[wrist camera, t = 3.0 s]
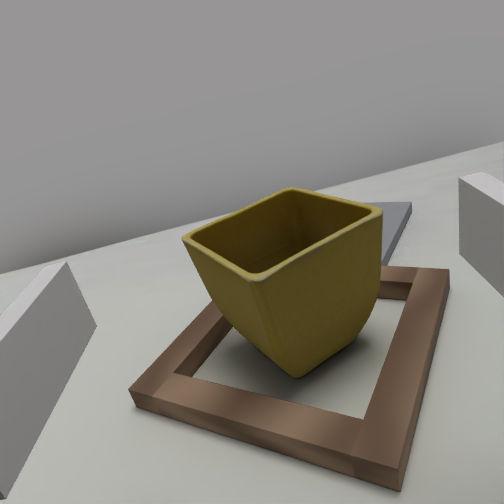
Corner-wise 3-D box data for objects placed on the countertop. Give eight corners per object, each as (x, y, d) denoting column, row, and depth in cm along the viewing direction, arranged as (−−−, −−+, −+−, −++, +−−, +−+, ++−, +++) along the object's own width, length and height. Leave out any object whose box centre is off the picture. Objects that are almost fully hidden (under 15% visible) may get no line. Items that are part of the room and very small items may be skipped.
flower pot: (289, 419, 23) (252, 280, 19) (216, 347, 30) (177, 234, 26) (400, 340, 27) (387, 207, 23) (311, 292, 34) (289, 185, 30)
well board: (449, 287, 30) (449, 269, 29) (400, 491, 18) (397, 468, 18) (255, 272, 38) (251, 258, 38) (136, 406, 27) (128, 389, 26)
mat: (412, 211, 42) (411, 201, 42) (381, 275, 33) (380, 264, 33) (301, 212, 49) (299, 204, 48) (251, 266, 40) (249, 257, 39)
